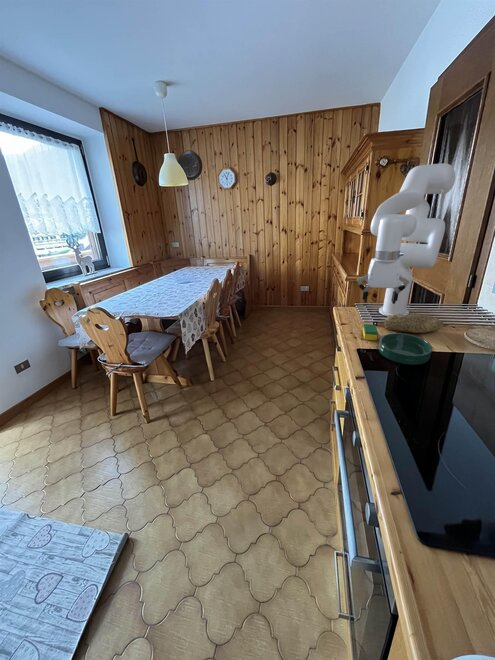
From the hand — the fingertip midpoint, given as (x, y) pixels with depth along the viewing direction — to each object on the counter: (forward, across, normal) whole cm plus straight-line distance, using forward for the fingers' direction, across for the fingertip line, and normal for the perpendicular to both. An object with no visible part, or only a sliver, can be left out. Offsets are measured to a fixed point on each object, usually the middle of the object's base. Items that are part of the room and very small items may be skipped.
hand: (378, 302), depth 105 cm
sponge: (+15, -16, -10) cm, 24 cm away
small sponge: (+15, +1, -2) cm, 15 cm away
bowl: (+15, -9, +10) cm, 20 cm away
